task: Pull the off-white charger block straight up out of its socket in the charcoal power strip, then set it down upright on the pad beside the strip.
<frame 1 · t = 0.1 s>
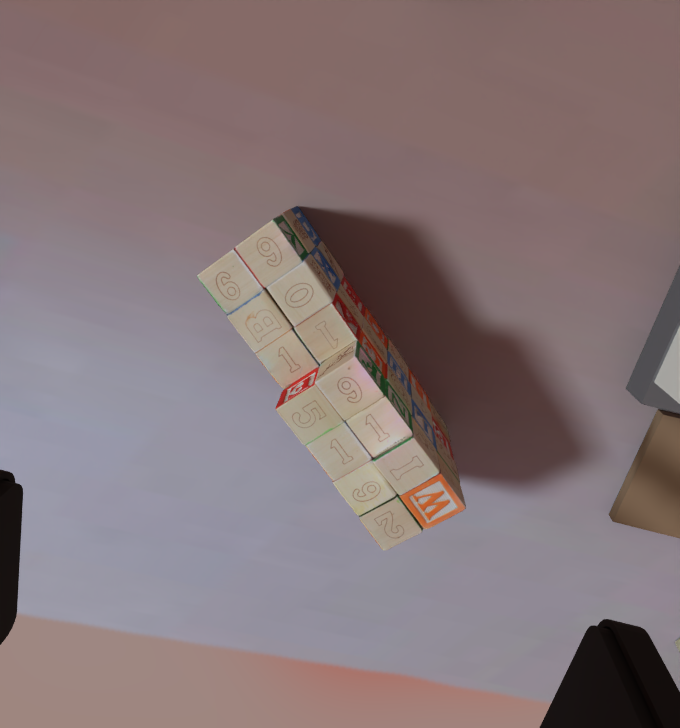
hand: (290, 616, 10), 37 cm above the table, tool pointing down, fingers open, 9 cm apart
stack of blocks: (344, 341, 47), on the table
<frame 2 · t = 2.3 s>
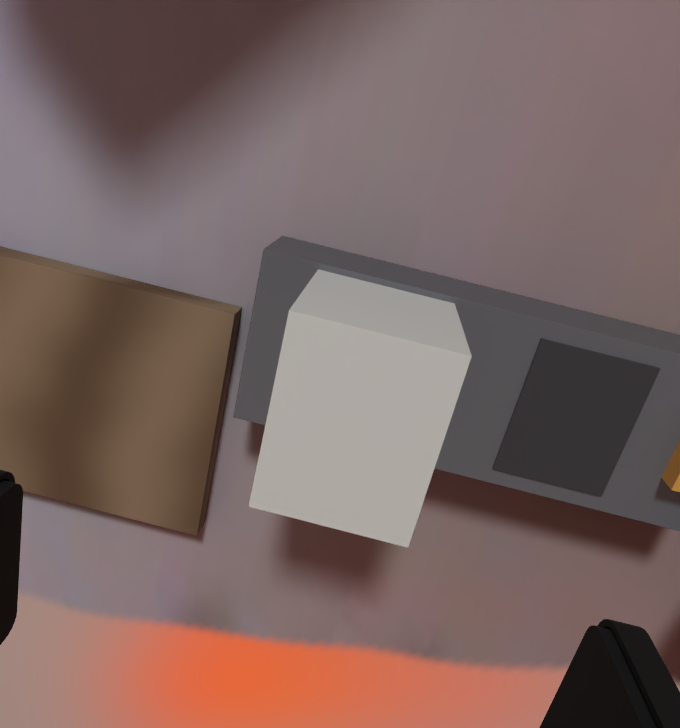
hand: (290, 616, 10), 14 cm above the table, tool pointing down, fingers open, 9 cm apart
power strip: (486, 369, 22), on the table
pad: (103, 392, 24), on the table
charger: (368, 348, 21), point 1 cm above the table, touching power strip
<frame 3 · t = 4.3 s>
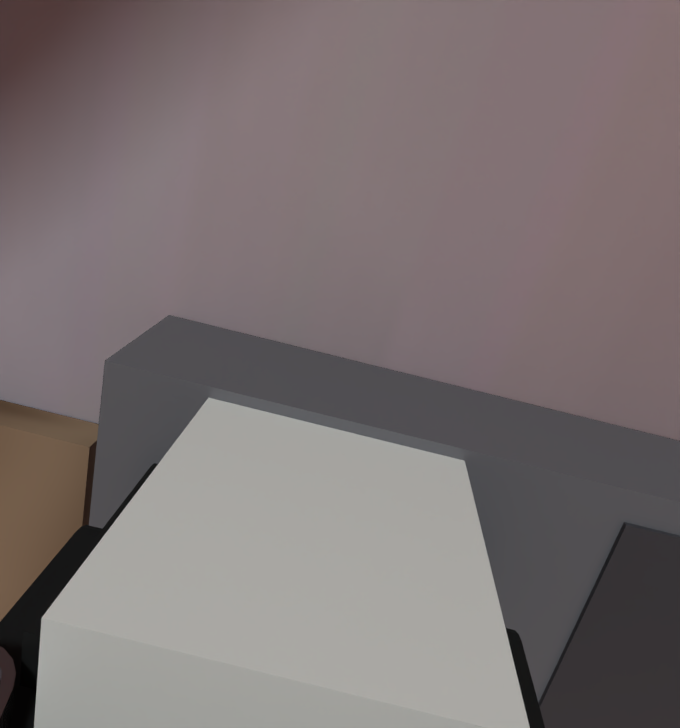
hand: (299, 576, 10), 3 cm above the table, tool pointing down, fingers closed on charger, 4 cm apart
power strip: (509, 525, 14), on the table
charger: (315, 502, 13), point 1 cm above the table, touching gripper, power strip
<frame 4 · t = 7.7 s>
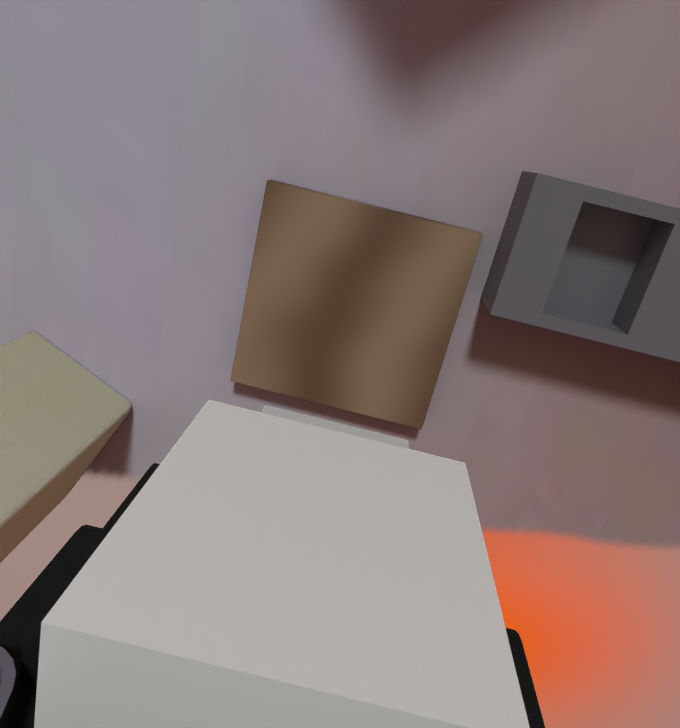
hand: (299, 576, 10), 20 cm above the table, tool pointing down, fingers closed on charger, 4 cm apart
power strip: (678, 282, 27), on the table
pad: (350, 307, 29), on the table
charger: (315, 504, 13), point 18 cm above the table, touching gripper
beige tall boxy piece: (47, 409, 33), on the table
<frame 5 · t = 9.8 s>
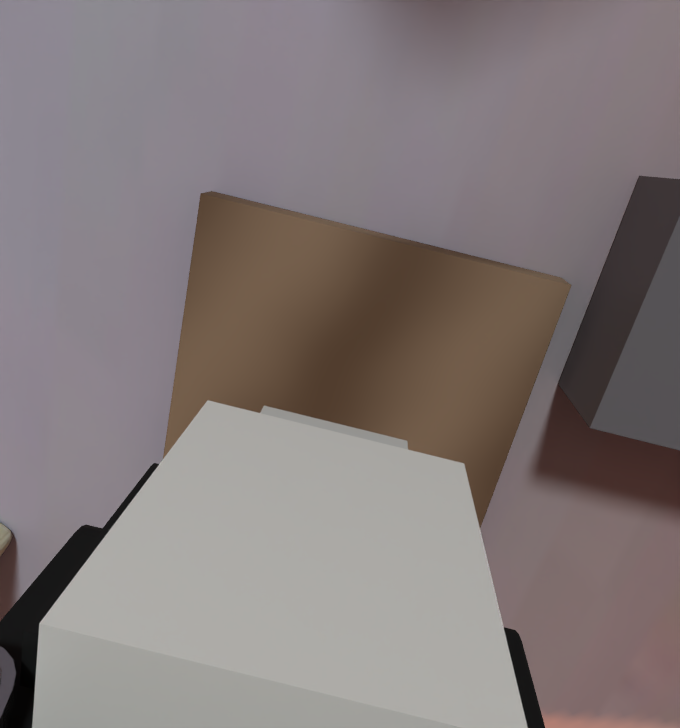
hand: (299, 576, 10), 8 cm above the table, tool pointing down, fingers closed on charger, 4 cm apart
pad: (345, 395, 18), on the table
charger: (314, 505, 13), point 6 cm above the table, touching gripper
when the fingers open (4 cm above the table, at t = 11.4 s): charger stays where it is, resting on pad.
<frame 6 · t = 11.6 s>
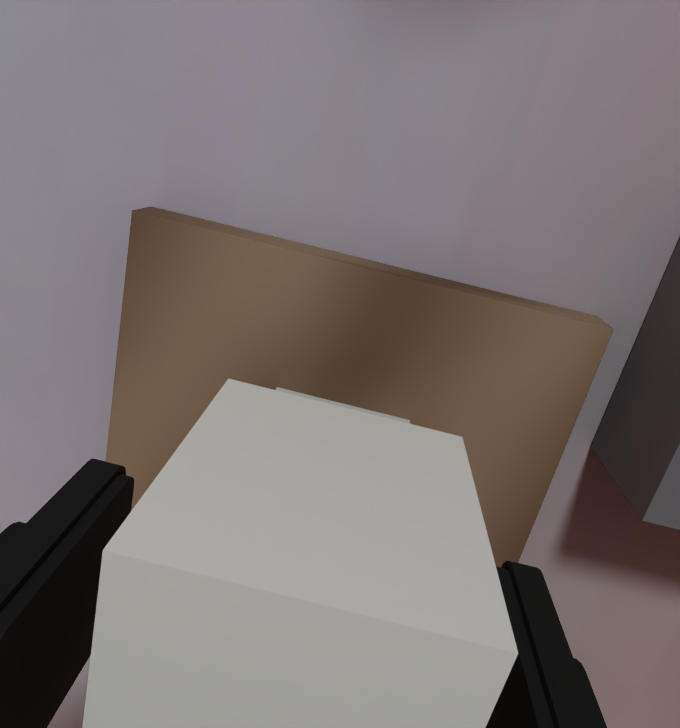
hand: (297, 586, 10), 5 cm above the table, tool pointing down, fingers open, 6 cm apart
pad: (324, 458, 15), on the table
charger: (323, 480, 14), point 1 cm above the table, touching pad
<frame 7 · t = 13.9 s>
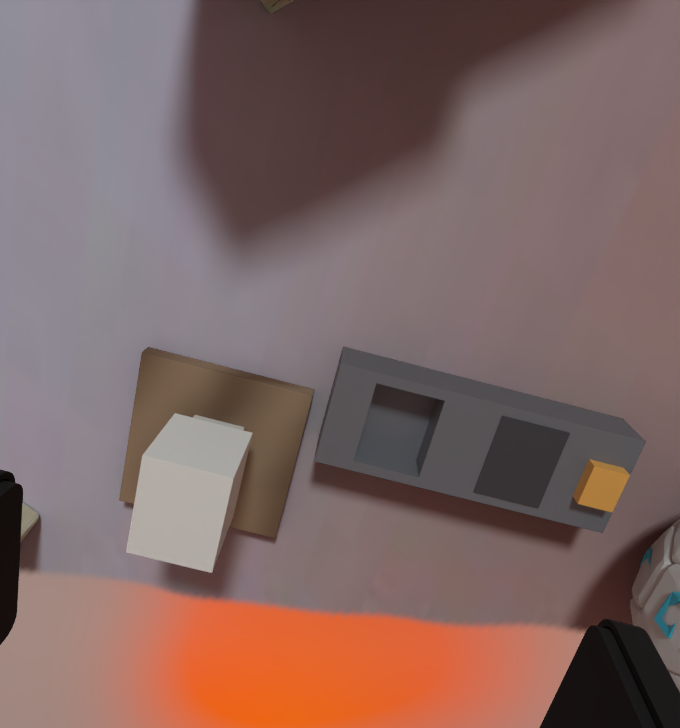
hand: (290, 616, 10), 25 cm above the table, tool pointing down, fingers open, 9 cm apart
power strip: (468, 428, 35), on the table
pad: (216, 442, 36), on the table
charger: (213, 450, 35), point 1 cm above the table, touching pad
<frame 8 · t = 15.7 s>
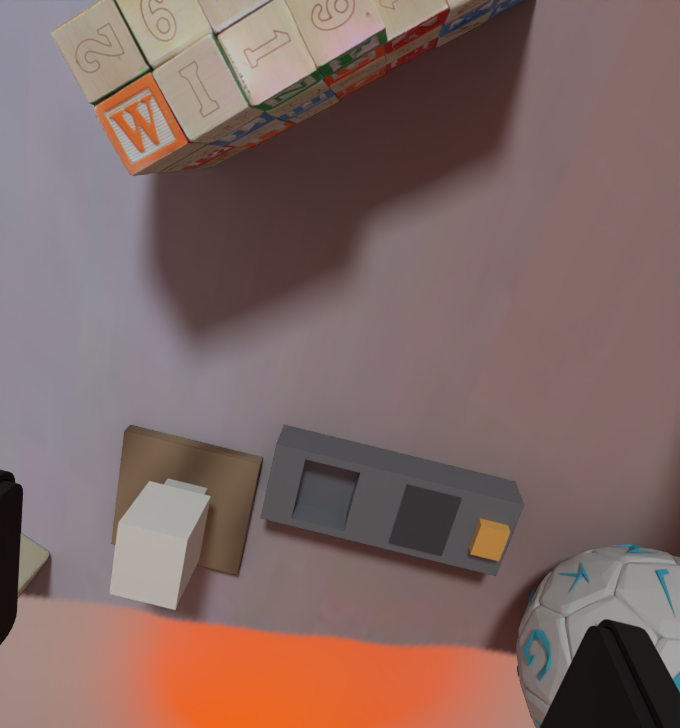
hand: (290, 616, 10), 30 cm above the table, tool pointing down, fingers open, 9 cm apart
power strip: (389, 488, 43), on the table
puzzle ball: (599, 586, 45), on the table
stack of blocks: (340, 35, 34), on the table
pad: (187, 498, 45), on the table
charger: (183, 506, 44), point 1 cm above the table, touching pad
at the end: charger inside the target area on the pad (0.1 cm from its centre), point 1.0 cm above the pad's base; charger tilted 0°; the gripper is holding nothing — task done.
